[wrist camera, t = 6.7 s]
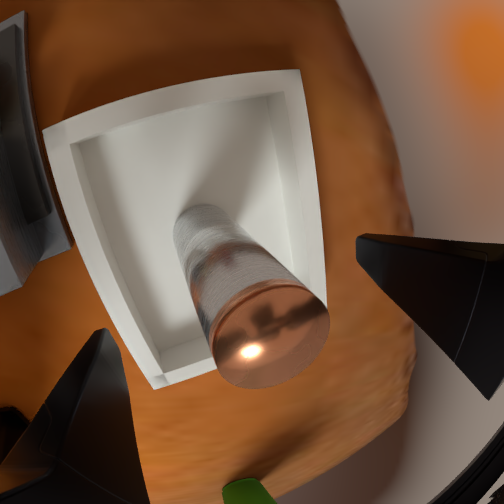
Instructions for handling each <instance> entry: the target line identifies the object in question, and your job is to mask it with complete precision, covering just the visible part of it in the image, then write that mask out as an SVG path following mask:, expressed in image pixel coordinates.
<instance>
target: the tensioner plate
mask: <svg viewBox="0 0 504 504" xmlns="http://www.w3.org/2000/svg"><path fill="white" fill-rule="evenodd" d="M27 19H28V14H27V13H26V12H25V10H23V11H21V12H19V13H18V14H16V15H14V16H12V17H10V18H8V19H7V20H5V21H3V22H1V23H0V296H1V295H3V294H6V293H8V292H11V291H13V290H15V289H18V288H20V287H22V286H23V284H24V283H25V281H26V280H27V278H28V277H29V275H30V274H31V272H32V271H33V269H34V268H35V266H36V265H37V263H38V262H40V261H42V260H45V259H47V258H50V257H52V256H54V255H57V254H59V253H62V252H64V251H67V250H69V249H71V248H72V246H73V242H72V240H71V237H70V234H69V232H68V229H67V226H66V224H65V221H64V218H63V215H62V212H61V210H60V207H59V204H58V201H57V197H56V194H55V191H54V188H53V185H52V181H51V178H50V174H49V171H48V167H47V163H46V159H45V155H44V151H43V147H42V143H41V138H40V134H39V129H38V124H37V119H36V113H35V107H34V101H33V94H32V86H31V78H30V68H29V55H28V29H27Z"/></svg>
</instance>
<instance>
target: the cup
mask: <svg viewBox="0 0 504 504" xmlns="http://www.w3.org/2000/svg"><path fill="white" fill-rule="evenodd" d="M222 496H223V500H224V504H277V503H276V502H275V500H274V499H273V498H272V497H271V495H270V494H269V493H268V492H267V490H266V489H265V488H264V487H263V485H262V484H261V483H260V481H257V479H255V478H247V479H242V480H238V481H235V482H233V483H230V484H228V485H227V486H225V487H224V488H223V492H222Z"/></svg>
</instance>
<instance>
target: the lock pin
mask: <svg viewBox="0 0 504 504" xmlns="http://www.w3.org/2000/svg"><path fill="white" fill-rule="evenodd" d="M173 241H174V245H175V248H176V252H177V255H178V258H179V261H180V265H181V268H182V271H183V274H184V277H185V280H186V283H187V286H188V289H189V292H190V295H191V298H192V301H193V304H194V307H195V310H196V313H197V316H198V318H199V321H200V324H201V327H202V330H203V332H204V335H205V338H206V340H207V343H208V346H209V348H210V351H211V354H212V356H213V359H214V362H215V364H216V367H217V369H218V371H219V373H220V374H221V376H222V377H223V378H224V379H225V380H227V381H228V382H229V383H231V384H233V385H235V386H238V387H242V388H248V389H260V388H267V387H271V386H275V385H278V384H280V383H283V382H285V381H287V380H289V379H291V378H293V377H294V376H296V375H297V374H299V373H300V372H302V371H303V370H304V369H305V368H307V367H308V366H309V365H310V364H311V363H312V362H313V360H314V359H315V358H316V357H317V356H318V354H319V353H320V351H321V350H322V348H323V346H324V344H325V342H326V340H327V337H328V334H329V329H330V317H329V313H328V310H327V308H326V306H325V305H324V303H323V302H322V301H321V300H320V299H319V298H318V297H317V296H316V295H314V294H313V293H312V292H311V291H310V290H309V289H308V288H307V287H306V286H305V285H304V284H303V283H302V282H301V281H299V280H298V279H297V278H296V277H295V276H294V275H293V274H292V273H291V272H290V271H289V270H288V269H287V268H285V267H284V266H283V265H282V264H281V263H280V262H279V261H278V260H277V259H276V258H275V257H274V256H272V255H271V254H270V253H269V252H268V251H267V250H266V249H265V248H264V247H263V246H262V245H261V244H259V243H258V242H257V241H256V240H255V239H254V238H253V237H252V236H251V235H250V234H249V233H248V232H246V231H245V230H244V229H243V228H242V227H241V226H240V225H239V224H238V223H237V222H235V221H234V220H233V219H232V218H231V217H230V216H229V215H228V214H227V213H226V212H225V211H223V210H222V209H221V208H219V207H218V206H215V205H212V204H206V203H203V204H196V205H193V206H191V207H189V208H187V209H186V210H184V211H183V212H182V213H181V214H180V216H179V217H178V218H177V220H176V222H175V224H174V227H173Z"/></svg>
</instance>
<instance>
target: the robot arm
mask: <svg viewBox="0 0 504 504" xmlns="http://www.w3.org/2000/svg"><path fill="white" fill-rule="evenodd" d="M356 259H357V262H358V263H359V264H360V266H361V267H362V268H363V269H364V270H365V271H366V272H367V273H368V275H369V276H370V277H371V278H372V279H373V280H374V282H375V283H376V284H377V285H378V286H379V287H380V288H381V289H382V290H383V291H384V292H385V293H386V294H387V295H388V296H389V297H390V298H391V299H392V300H393V301H394V302H395V303H396V304H397V305H398V306H399V307H400V308H401V309H402V310H403V311H404V312H405V313H406V314H407V315H408V316H409V317H410V318H411V319H412V320H413V321H414V322H415V323H416V324H417V325H418V326H419V327H421V329H422V330H423V331H424V332H425V333H426V334H427V335H428V336H429V337H430V338H431V339H432V340H433V341H434V342H435V343H436V344H437V345H438V346H439V347H440V348H441V349H442V350H443V351H444V352H445V354H447V356H448V357H449V358H450V359H451V360H452V361H453V362H454V363H455V364H456V366H457V367H458V368H459V369H460V370H461V371H462V372H463V373H464V374H465V375H466V377H467V378H468V379H469V380H470V381H471V382H472V383H473V384H474V386H475V387H476V388H477V389H478V390H479V391H480V392H481V394H482V395H483V396H484V397H485V398H486V399H487V400H488V401H489V400H490V399H491V398H492V397H493V395H494V394H495V392H496V391H497V390H498V389H499V387H500V386H501V385H502V383H503V382H504V244H497V243H478V242H465V241H454V240H451V241H449V240H442V239H431V238H420V237H408V236H395V235H382V234H369V233H365V234H362V235H360V236H358V237H357V238H356ZM503 472H504V422H503V424H502V425H501V426H500V428H499V429H498V430H497V432H496V433H495V434H494V436H493V437H492V438H491V439H490V441H489V442H488V443H487V444H486V445H485V447H484V448H483V449H482V450H481V451H480V452H479V454H478V455H477V456H476V457H475V458H474V459H473V460H472V461H471V463H470V464H469V465H468V466H467V467H466V468H465V469H464V470H463V471H462V472H461V473H460V474H459V475H458V476H457V477H456V478H455V479H454V480H453V481H452V482H451V483H450V484H449V485H448V486H447V487H445V489H443V490H442V491H441V492H440V493H439V494H438V495H437V496H436V497H434V498H433V499H432V500H431V501H430V502H429V503H427V504H477V502H478V501H479V500H480V499H481V498H482V497H483V496H484V495H485V494H486V492H487V491H488V490H489V489H490V488H491V486H493V484H494V483H495V482H496V481H497V479H498V478H499V477H500V476H501V474H502V473H503ZM489 498H490V499H491V501H490V502H489V503H488V504H504V484H503V485H502V486H501V487H500V488H499V489H497V490H496V491H495V492H494V493H493V494H492V495H491V496H490V497H489ZM0 504H150V501H149V497H148V493H147V489H146V485H145V481H144V477H143V473H142V468H141V463H140V459H139V454H138V448H137V443H136V437H135V431H134V425H133V418H132V411H131V404H130V396H129V390H128V386H127V381H126V377H125V372H124V368H123V363H122V358H121V353H120V350H119V347H118V346H117V344H116V342H115V340H114V339H113V337H112V335H111V334H110V332H109V330H108V329H107V328H102V329H99V330H96V331H94V333H93V334H92V335H91V337H90V338H89V339H88V341H87V342H86V343H85V345H84V346H83V347H82V349H81V350H80V351H79V353H78V354H77V356H76V357H75V358H74V360H73V361H72V362H71V364H70V365H69V367H68V368H67V369H66V371H65V372H64V374H63V375H62V377H61V378H60V379H59V381H58V382H57V384H56V385H55V387H54V388H53V390H52V391H51V393H50V394H49V396H48V397H47V399H46V400H45V404H43V405H42V406H41V408H40V409H39V411H38V413H37V414H36V415H35V417H34V419H33V420H32V422H31V423H30V422H29V421H28V420H27V419H26V418H25V417H24V416H23V415H22V414H21V413H20V412H19V411H18V410H16V409H15V408H13V407H7V408H0Z"/></svg>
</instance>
